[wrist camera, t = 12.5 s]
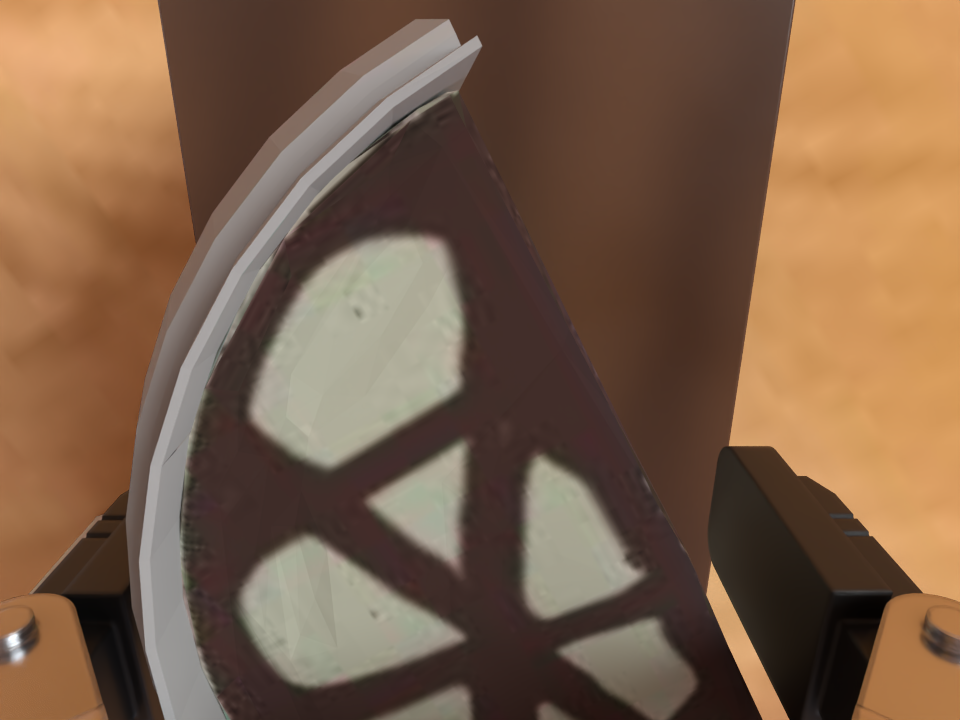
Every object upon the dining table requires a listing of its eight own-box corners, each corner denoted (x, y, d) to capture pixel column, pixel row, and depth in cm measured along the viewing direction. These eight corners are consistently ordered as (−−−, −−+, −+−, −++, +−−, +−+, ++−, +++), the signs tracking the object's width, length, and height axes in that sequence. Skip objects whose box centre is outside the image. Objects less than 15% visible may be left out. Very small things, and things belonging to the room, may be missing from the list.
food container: (119, 235, 14) (-330, 378, 5) (377, 95, 14) (444, -38, 5) (408, 643, 18) (477, 1159, 9) (606, 529, 18) (882, 912, 9)
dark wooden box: (641, 33, 27) (800, -24, 14) (612, 421, 33) (701, 637, 20) (311, 34, 27) (152, -23, 14) (343, 422, 33) (256, 639, 20)
